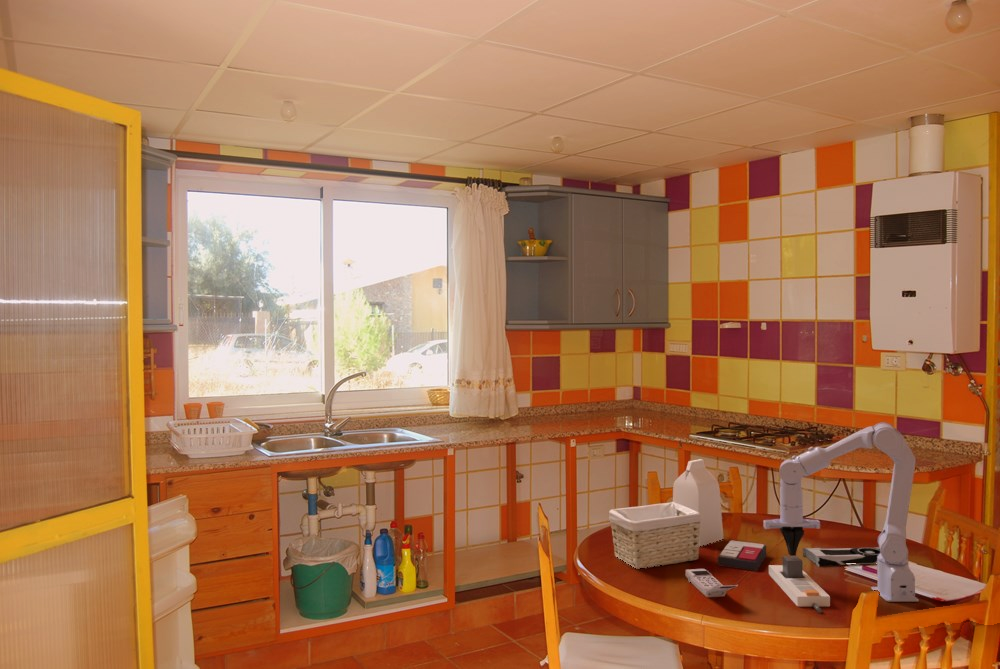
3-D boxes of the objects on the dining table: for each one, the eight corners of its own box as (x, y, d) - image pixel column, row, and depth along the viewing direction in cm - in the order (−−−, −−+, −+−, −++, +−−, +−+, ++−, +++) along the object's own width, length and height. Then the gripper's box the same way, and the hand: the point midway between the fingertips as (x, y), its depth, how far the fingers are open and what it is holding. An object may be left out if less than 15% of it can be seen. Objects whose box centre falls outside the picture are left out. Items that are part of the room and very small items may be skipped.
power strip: (837, 613, 184) (836, 600, 184) (803, 613, 185) (803, 600, 185) (797, 573, 213) (797, 562, 213) (768, 574, 213) (768, 562, 213)
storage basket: (633, 572, 218) (632, 521, 218) (607, 556, 233) (606, 508, 233) (704, 561, 226) (703, 512, 225) (675, 546, 241) (674, 500, 241)
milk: (699, 546, 240) (698, 465, 239) (671, 538, 249) (670, 460, 248) (723, 539, 247) (722, 460, 246) (695, 532, 256) (694, 455, 256)
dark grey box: (717, 554, 221) (729, 538, 234) (717, 568, 222) (729, 551, 235) (756, 559, 216) (766, 542, 229) (756, 574, 216) (766, 556, 229)
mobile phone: (716, 586, 189) (681, 555, 214) (716, 609, 189) (681, 575, 214) (739, 585, 190) (701, 554, 214) (739, 608, 190) (701, 574, 215)
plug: (802, 586, 203) (802, 560, 203) (787, 586, 203) (787, 560, 203) (796, 580, 208) (796, 555, 208) (781, 580, 208) (781, 555, 208)
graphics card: (802, 547, 228) (884, 545, 228) (802, 558, 228) (884, 556, 228) (816, 557, 218) (902, 555, 218) (816, 569, 218) (902, 566, 218)
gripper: (813, 500, 208) (814, 549, 208) (759, 501, 209) (760, 550, 209) (822, 507, 201) (823, 557, 201) (767, 507, 202) (768, 558, 202)
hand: (792, 554), depth 205 cm, fingers closed
